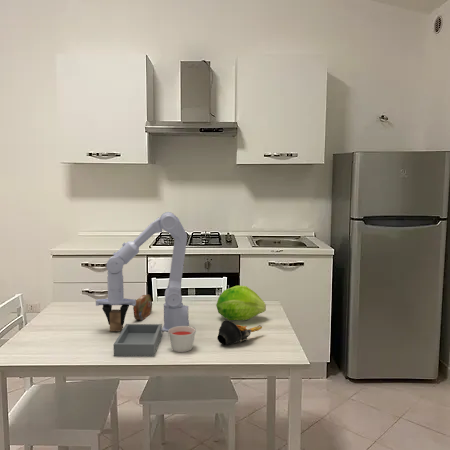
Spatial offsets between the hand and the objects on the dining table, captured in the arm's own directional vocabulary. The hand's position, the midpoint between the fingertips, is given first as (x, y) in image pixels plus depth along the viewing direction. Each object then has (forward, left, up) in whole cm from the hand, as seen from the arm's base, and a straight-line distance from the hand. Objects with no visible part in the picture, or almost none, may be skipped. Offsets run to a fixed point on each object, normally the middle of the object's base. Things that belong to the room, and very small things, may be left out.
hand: (116, 324), depth 176 cm
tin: (-7, -17, -3) cm, 19 cm away
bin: (-11, +14, -3) cm, 18 cm away
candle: (-26, +17, -3) cm, 31 cm away
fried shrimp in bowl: (-46, +10, -3) cm, 47 cm away
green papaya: (-47, -14, -3) cm, 49 cm away
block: (0, 0, -2) cm, 2 cm away
